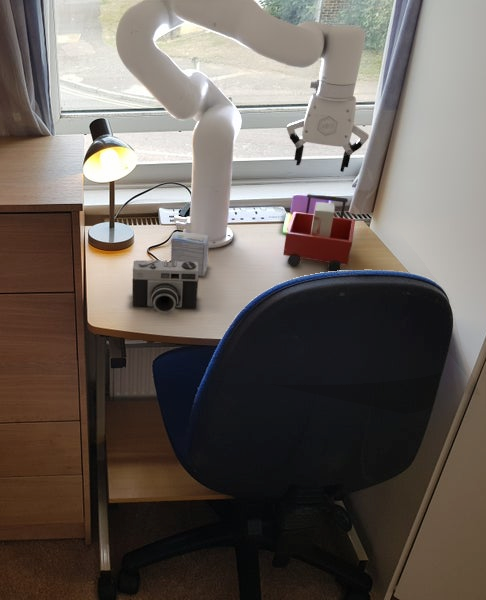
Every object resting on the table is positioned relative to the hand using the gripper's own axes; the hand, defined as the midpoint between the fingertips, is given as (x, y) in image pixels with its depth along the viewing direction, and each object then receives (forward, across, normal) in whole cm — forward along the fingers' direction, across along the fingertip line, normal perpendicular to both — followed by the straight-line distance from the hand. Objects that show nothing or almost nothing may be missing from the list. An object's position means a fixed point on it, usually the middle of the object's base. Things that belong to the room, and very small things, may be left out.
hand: (320, 166), depth 143 cm
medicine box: (+22, -24, -19) cm, 38 cm away
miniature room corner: (+22, -1, +13) cm, 25 cm away
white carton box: (+19, +3, -2) cm, 19 cm away
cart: (+21, +3, -2) cm, 22 cm away
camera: (+22, -24, -36) cm, 49 cm away
